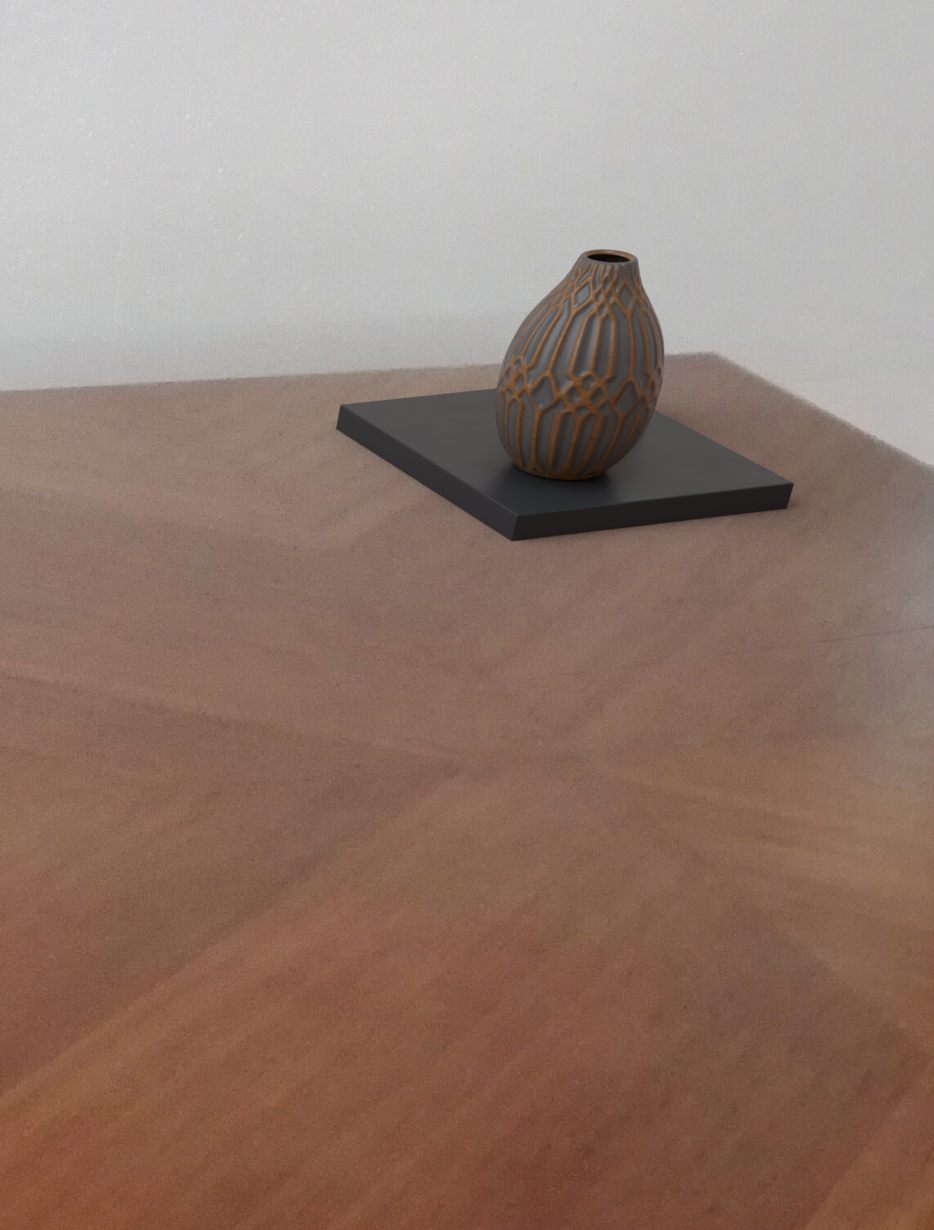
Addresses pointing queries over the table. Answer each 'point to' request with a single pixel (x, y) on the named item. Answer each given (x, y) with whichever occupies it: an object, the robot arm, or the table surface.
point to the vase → (582, 372)
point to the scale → (543, 507)
